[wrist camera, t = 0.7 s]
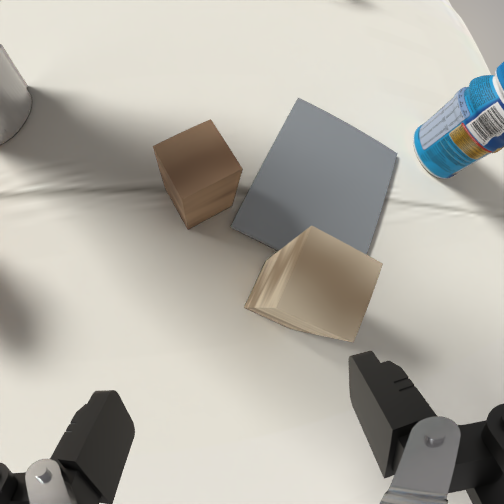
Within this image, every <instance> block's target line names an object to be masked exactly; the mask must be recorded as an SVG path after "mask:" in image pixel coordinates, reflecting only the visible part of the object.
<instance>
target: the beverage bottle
mask: <svg viewBox="0 0 504 504" xmlns="http://www.w3.org/2000/svg"><path fill="white" fill-rule="evenodd" d="M413 146H414V150H415V153H416V156H417V158H418V159H419V161H420V163H421V164H422V165H423V167H424V168H425V169H426V170H427V171H428V172H429V173H431V174H432V175H434V176H436V177H438V178H442V179H447V178H450V177H452V176H454V175H455V174H457V173H458V172H459V171H461V170H462V169H464V168H466V167H467V166H469V165H471V164H473V163H474V162H476V161H478V160H480V159H481V158H483V157H485V156H487V155H488V154H490V153H496V152H498V151H499V150H501V149H502V148H503V147H504V62H503V63H502V64H501V65H500V66H499V67H498V68H497V70H496V71H495V75H494V76H493V75H486V76H480V77H477V78H475V79H473V80H472V81H471V82H470V85H469V87H464V88H462V89H460V90H459V91H458V92H457V93H456V94H455V96H454V97H453V98H452V99H451V100H450V101H449V102H448V103H447V104H446V105H444V106H443V107H442V108H441V109H440V110H439V111H438V112H437V113H435V114H434V115H433V116H432V117H431V118H430V119H429V120H428V121H426V122H425V123H424V124H422V125H421V126H420V127H418V128H417V129H416V131H415V133H414V136H413Z"/></svg>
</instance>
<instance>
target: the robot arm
mask: <svg viewBox="0 0 504 504" xmlns="http://www.w3.org/2000/svg"><path fill="white" fill-rule="evenodd" d="M27 86H28V85H27V84H26V82H25V81H24V79H23V77H22V76H21V74H20V73H19V71H18V70H17V68H16V67H15V65H14V63H13V62H12V60H11V59H10V57H9V55H8V54H7V52H6V51H5V49H4V47H3V46H2V45H1V44H0V144H2V143H4V142H6V141H7V140H9V139H10V138H11V137H12V136H13V135H15V134H16V133H17V131H18V130H19V129H20V128H21V127H22V125H23V124H24V122H25V121H26V119H27V117H28V115H29V112H30V110H31V105H32V98H31V95H30V93H29V92H28V90H27ZM349 386H350V398H351V402H352V406H353V408H354V411H355V413H356V415H357V417H358V420H359V422H360V424H361V426H362V429H363V431H364V433H365V435H366V438H367V440H368V442H369V444H370V447H371V449H372V451H373V454H374V456H375V458H376V461H377V463H378V465H379V467H380V470H381V472H382V474H383V477H384V478H387V477H390V476H393V475H395V476H394V478H393V480H392V483H391V485H390V487H389V489H388V491H387V492H386V493H385V494H384V496H383V498H382V500H381V502H380V504H448V500H447V494H448V493H451V492H456V491H461V490H466V491H467V493H468V495H469V497H470V499H471V501H472V503H473V504H504V404H501V405H498V406H496V407H495V408H493V409H492V410H491V412H490V413H489V415H488V417H487V420H486V421H482V422H477V423H472V424H466V425H457V424H456V423H455V422H454V421H452V420H450V419H448V418H445V417H438V416H437V415H436V414H435V413H434V411H433V410H432V409H431V407H430V406H429V404H428V403H427V402H426V400H425V399H424V398H423V396H422V395H421V393H420V392H419V391H418V389H417V388H416V387H414V384H413V383H412V381H411V380H410V379H408V376H407V375H406V373H405V372H404V371H403V369H402V368H401V367H400V366H398V365H396V364H394V363H392V362H391V361H386V362H383V363H380V362H379V360H378V359H377V357H376V356H375V354H374V353H373V352H372V351H368V352H364V353H360V354H356V355H353V356H350V357H349ZM134 435H135V429H134V424H133V421H132V419H131V417H130V415H129V414H128V412H127V410H126V408H125V406H124V404H123V402H122V400H121V398H120V396H119V394H118V393H117V392H116V391H114V390H109V391H95V392H94V393H93V395H92V396H91V398H90V400H89V402H88V403H87V404H85V405H84V406H83V407H82V408H81V409H80V410H78V411H77V412H76V414H75V415H74V417H73V419H72V421H71V424H69V426H68V428H67V429H66V432H65V433H64V435H63V436H62V438H61V440H60V442H59V444H58V445H57V447H56V449H55V451H54V453H53V454H52V456H51V458H50V459H41V460H38V461H36V462H35V463H33V464H32V465H31V466H30V467H29V468H28V470H27V472H26V473H12V472H11V471H10V470H9V469H8V468H7V466H6V465H5V464H3V463H0V504H99V503H105V504H112V503H113V500H114V497H115V494H116V491H117V487H118V484H119V481H120V478H121V475H122V472H123V469H124V466H125V463H126V460H127V457H128V454H129V451H130V448H131V445H132V442H133V439H134Z"/></svg>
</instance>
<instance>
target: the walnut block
mask: <svg viewBox="0 0 504 504" xmlns="http://www.w3.org/2000/svg"><path fill="white" fill-rule="evenodd" d="M153 148H154V152H155V155H156V159H157V162H158V166H159V169H160V173H161V176H162V179H163V183H164V186H165V189H166V191H167V192H168V194H169V196H170V198H171V200H172V202H173V203H174V205H175V207H176V209H177V211H178V213H179V214H180V216H181V218H182V220H183V222H184V223H185V225H186V227H187V229H190V228H192V227H194V226H196V225H198V224H199V223H201V222H203V221H205V220H207V219H209V218H210V217H212V216H214V215H216V214H218V213H220V212H222V211H223V210H225V209H227V208H229V207H231V206H232V205H233V201H234V197H235V194H236V190H237V187H238V183H239V180H240V176H241V173H242V167H241V166H240V164H239V162H238V161H237V159H236V158H235V156H234V155H233V153H232V151H231V150H230V148H229V147H228V145H227V144H226V142H225V141H224V139H223V137H222V136H221V134H220V133H219V131H218V130H217V128H216V127H215V125H214V124H213V122H212V121H211V119H210V120H208V121H206V122H204V123H201V124H199V125H197V126H195V127H192V128H190V129H188V130H186V131H184V132H181V133H179V134H177V135H175V136H173V137H171V138H169V139H167V140H165V141H163V142H161V143H159V144H157V145H155V146H153Z"/></svg>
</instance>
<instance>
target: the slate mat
mask: <svg viewBox="0 0 504 504" xmlns="http://www.w3.org/2000/svg"><path fill="white" fill-rule="evenodd" d="M396 156H397V153H396V152H394V151H393V150H391V149H390V148H388V147H386V146H385V145H383V144H382V143H380V142H378V141H377V140H375V139H373V138H372V137H370V136H368V135H367V134H365V133H363V132H362V131H360V130H358V129H357V128H355V127H353V126H351V125H350V124H348V123H346V122H344V121H342V120H341V119H339V118H337V117H335V116H333V115H331V114H330V113H328V112H326V111H324V110H322V109H320V108H318V107H316V106H314V105H312V104H310V103H308V102H306V101H304V100H302V99H300V98H298V99H297V101H296V103H295V104H294V106H293V108H292V110H291V112H290V114H289V116H288V117H287V119H286V121H285V123H284V125H283V127H282V129H281V130H280V132H279V134H278V136H277V138H276V140H275V142H274V144H273V145H272V147H271V149H270V151H269V153H268V155H267V157H266V159H265V161H264V163H263V164H262V166H261V168H260V170H259V172H258V174H257V176H256V178H255V180H254V182H253V184H252V186H251V188H250V189H249V191H248V193H247V195H246V197H245V199H244V201H243V203H242V205H241V207H240V209H239V211H238V213H237V215H236V217H235V219H234V221H233V223H232V225H231V228H233V229H235V230H237V231H239V232H241V233H243V234H245V235H247V236H249V237H251V238H253V239H255V240H257V241H259V242H261V243H263V244H265V245H267V246H269V247H271V248H273V249H275V250H277V251H279V250H281V249H282V248H283V247H284V246H286V245H287V244H288V243H290V242H291V241H292V240H293V239H295V238H296V237H297V236H299V235H300V234H301V233H303V232H304V231H305V230H306V229H308V228H309V227H310V226H314V227H316V228H318V229H319V230H321V231H323V232H325V233H327V234H329V235H331V236H333V237H335V238H336V239H338V240H340V241H342V242H344V243H346V244H348V245H350V246H351V247H353V248H355V249H357V250H359V251H361V252H362V253H364V254H366V255H367V252H368V249H369V246H370V243H371V240H372V237H373V234H374V231H375V228H376V225H377V222H378V219H379V216H380V213H381V209H382V206H383V203H384V199H385V196H386V193H387V189H388V186H389V182H390V179H391V175H392V171H393V168H394V164H395V160H396Z"/></svg>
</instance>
